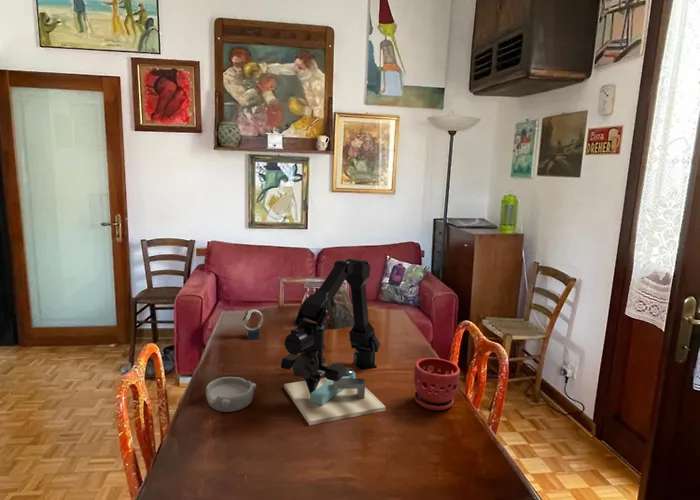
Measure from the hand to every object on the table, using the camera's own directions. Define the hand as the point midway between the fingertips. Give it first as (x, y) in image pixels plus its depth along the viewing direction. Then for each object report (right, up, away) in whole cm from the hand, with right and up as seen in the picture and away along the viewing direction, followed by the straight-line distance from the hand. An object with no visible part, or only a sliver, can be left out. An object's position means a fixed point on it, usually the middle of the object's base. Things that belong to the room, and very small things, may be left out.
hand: (312, 394), depth 147 cm
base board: (+6, -2, +3) cm, 7 cm away
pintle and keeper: (+10, 0, +7) cm, 13 cm away
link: (+6, 0, +5) cm, 8 cm away
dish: (-24, -2, 0) cm, 24 cm away
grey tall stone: (+7, +10, +70) cm, 71 cm away
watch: (-27, +7, +52) cm, 59 cm away
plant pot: (+36, -4, +3) cm, 37 cm away
